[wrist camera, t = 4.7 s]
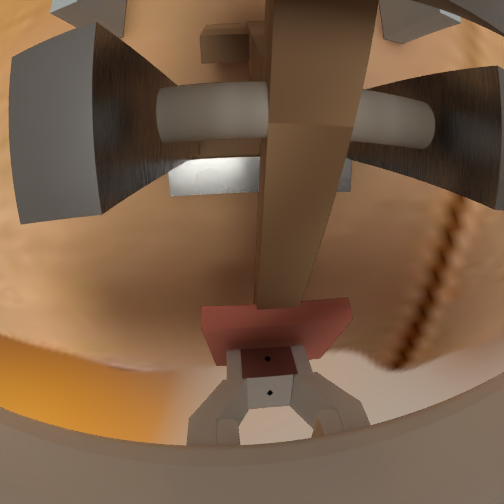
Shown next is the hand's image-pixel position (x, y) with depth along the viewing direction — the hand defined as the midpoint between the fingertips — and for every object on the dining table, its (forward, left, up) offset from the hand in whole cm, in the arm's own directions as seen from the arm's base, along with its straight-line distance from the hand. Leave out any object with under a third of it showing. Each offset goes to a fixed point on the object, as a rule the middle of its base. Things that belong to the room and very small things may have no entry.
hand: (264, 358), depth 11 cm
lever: (0, -11, -4) cm, 12 cm away
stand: (0, -9, -5) cm, 10 cm away
